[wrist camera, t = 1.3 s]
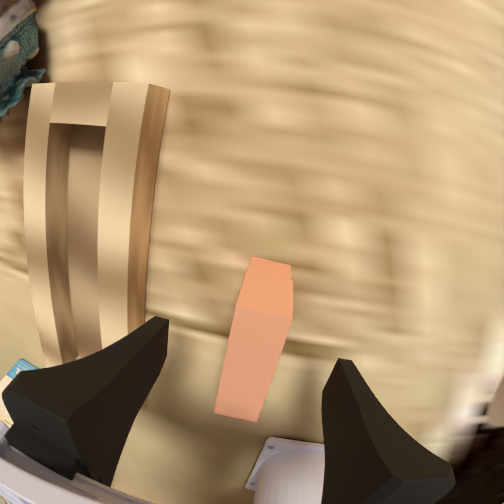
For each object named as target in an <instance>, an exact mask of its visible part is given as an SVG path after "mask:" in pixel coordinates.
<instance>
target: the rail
mask: <svg viewBox="0 0 504 504" xmlns="http://www.w3.org/2000/svg"><path fill="white" fill-rule="evenodd" d="M169 93H170V89H166V88H163V87H159V86H155V85H152V84H145V83H126V82H58V83H39V84H32V89H31V95H30V102H29V110H28V119H27V128H26V140H25V156H24V224H25V240H26V252H27V263H28V271H29V279H30V287H31V293H32V300H33V306H34V312H35V317H36V322H37V327H38V332H39V337H40V341H41V346H42V350H43V354H44V358H45V362H46V366H47V368H48V367H53V366H57V365H61V364H65V363H68V362H71V361H74V360H77V359H80V358H83V357H86V356H89V355H91V354H93V353H96V352H98V351H100V350H102V349H104V348H106V347H108V346H109V345H111V344H113V343H115V342H116V341H118V340H120V339H122V338H123V337H125V336H126V335H128V334H129V333H131V332H133V331H134V330H136V329H137V328H139V327H140V326H141V325H143V324H144V323H145V298H146V278H147V262H148V248H149V236H150V225H151V215H152V205H153V196H154V188H155V180H156V172H157V165H158V157H159V151H160V144H161V138H162V132H163V126H164V120H165V114H166V108H167V103H168V98H169Z"/></svg>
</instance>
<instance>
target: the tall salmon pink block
mask: <svg viewBox="0 0 504 504" xmlns="http://www.w3.org/2000/svg"><path fill="white" fill-rule="evenodd" d="M292 317H293V280H291V265H288V264H283V263H279V262H275V261H270V260H266V259H262V258H257V257H253V256H252V258H251V261H250V264H249V268H248V270H247V272H246V275H245V278H244V281H243V284H242V287H241V291H240V294H239V297H238V300H237V303H236V307H235V312H234V316H233V321H232V326H231V331H230V336H229V340H228V345H227V350H226V355H225V360H224V364H223V369H222V374H221V379H220V384H219V389H218V393H217V398H216V403H215V408H214V413H217V414H221V415H225V416H229V417H234V418H238V419H243V420H248V421H252V422H257V420H258V417H259V415H260V412H261V409H262V406H263V404H264V401H265V398H266V395H267V392H268V390H269V387H270V384H271V381H272V378H273V375H274V373H275V370H276V367H277V364H278V361H279V358H280V355H281V352H282V349H283V346H284V343H285V340H286V337H287V334H288V331H289V328H290V325H291V322H292Z"/></svg>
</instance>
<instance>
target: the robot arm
mask: <svg viewBox="0 0 504 504" xmlns="http://www.w3.org/2000/svg"><path fill="white" fill-rule="evenodd" d="M168 329H169V320H168V319H164V318H161V317H157V316H155V317H153V318H152V319H150V320H149V321H147V322H146V323H144V324H143V325H141V326H140V327H139V328H137V329H136V330H134V331H133V332H131V333H129V334H128V335H126V336H125V337H123V338H122V339H120V340H118V341H116V342H115V343H113V344H111V345H109V346H108V347H106V348H104V349H102V350H100V351H98V352H96V353H93V354H91V355H89V356H86V357H83V358H80V359H77V360H74V361H71V362H68V363H65V364H61V365H57V366H53V367H48V368H42V369H34V370H26V371H20V372H19V373H18V374H17V375H16V376H15V378H14V379H13V380H12V381H11V382H10V383H9V384H8V386H7V387H6V388H5V389H4V390H3V392H2V400H3V402H4V405H5V407H6V409H7V411H8V413H9V415H10V417H11V419H12V421H13V423H14V424H13V425H12V426H11V428H9V427H8V426H7V425H6V424H5V423H4V422H3V421H1V420H0V495H1V496H3V497H4V498H5V499H7V500H8V501H10V502H11V503H12V504H154V503H151V502H148V501H145V500H142V499H139V498H137V497H134V496H131V495H128V494H126V493H123V492H121V491H118V490H115V489H113V488H111V484H112V480H113V477H114V474H115V470H116V467H117V464H118V462H119V459H120V456H121V453H122V450H123V447H124V445H125V442H126V439H127V437H128V434H129V432H130V429H131V427H132V424H133V422H134V420H135V418H136V416H137V414H138V412H139V410H140V408H141V406H142V404H143V403H144V401H145V399H146V397H147V396H148V394H149V392H150V390H151V389H152V387H153V385H154V383H155V381H156V380H157V378H158V376H159V374H160V372H161V369H162V367H163V364H164V362H165V359H166V357H167V344H168ZM322 425H323V437H324V444H319V443H311V442H303V441H296V440H289V439H283V438H277V437H269V438H267V440H266V442H265V444H264V446H263V448H262V451H261V453H260V455H259V457H258V459H257V461H256V464H255V466H254V468H253V470H252V472H251V474H250V476H249V478H248V480H247V482H246V485H245V488H246V489H249V490H254V491H255V496H254V503H253V504H434V503H436V502H437V501H438V500H439V499H441V498H442V497H443V496H445V495H446V494H447V493H448V492H449V491H450V490H451V489H452V488H453V486H454V485H455V478H454V474H453V471H452V467H451V464H450V463H448V462H446V461H445V460H443V459H441V458H440V457H438V456H436V455H435V454H433V453H432V452H430V451H429V450H427V449H426V448H425V447H423V446H422V445H421V444H419V443H418V442H417V441H416V440H414V439H413V438H412V437H411V436H410V435H409V434H408V433H407V432H405V431H404V430H403V429H402V428H401V427H400V426H399V425H398V424H397V422H396V421H395V420H394V419H393V418H392V417H391V416H390V415H389V414H388V412H387V411H386V410H385V409H384V407H383V406H382V405H381V403H380V402H379V401H378V399H377V398H376V397H375V395H374V394H373V392H372V391H371V389H370V388H369V386H368V385H367V383H366V382H365V380H364V379H363V377H362V376H361V374H360V372H359V371H358V369H357V368H356V366H355V365H354V363H353V362H352V360H346V359H340V358H338V360H337V362H336V364H335V366H334V368H333V371H332V373H331V375H330V377H329V379H328V381H327V383H326V385H325V387H324V389H323V392H322Z"/></svg>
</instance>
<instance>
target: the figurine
mask: <svg viewBox="0 0 504 504" xmlns="http://www.w3.org/2000/svg"><path fill="white" fill-rule="evenodd" d="M35 11H36V5H35V3H34V2H33V1H32V0H0V123H1V122H2V119H3V118H5V117H7V116H9V109H10V108H12V107H16V106H17V105H18V104H19V102H20V100H23V99H24V98H25V96H26V91H27V87H32V84H38V83H39V81H40V80H41V79H42V76H43V74H44V73H45V71H46V70H47V69H46V68H42V69H36V70H28V69H27V68H26V65H27V62H28V61H29V60H31V59H32V58H34V57H35V56H36V54H37V53H38V51H39V45H38V26H37V23H36V21H35V18H34V12H35Z"/></svg>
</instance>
